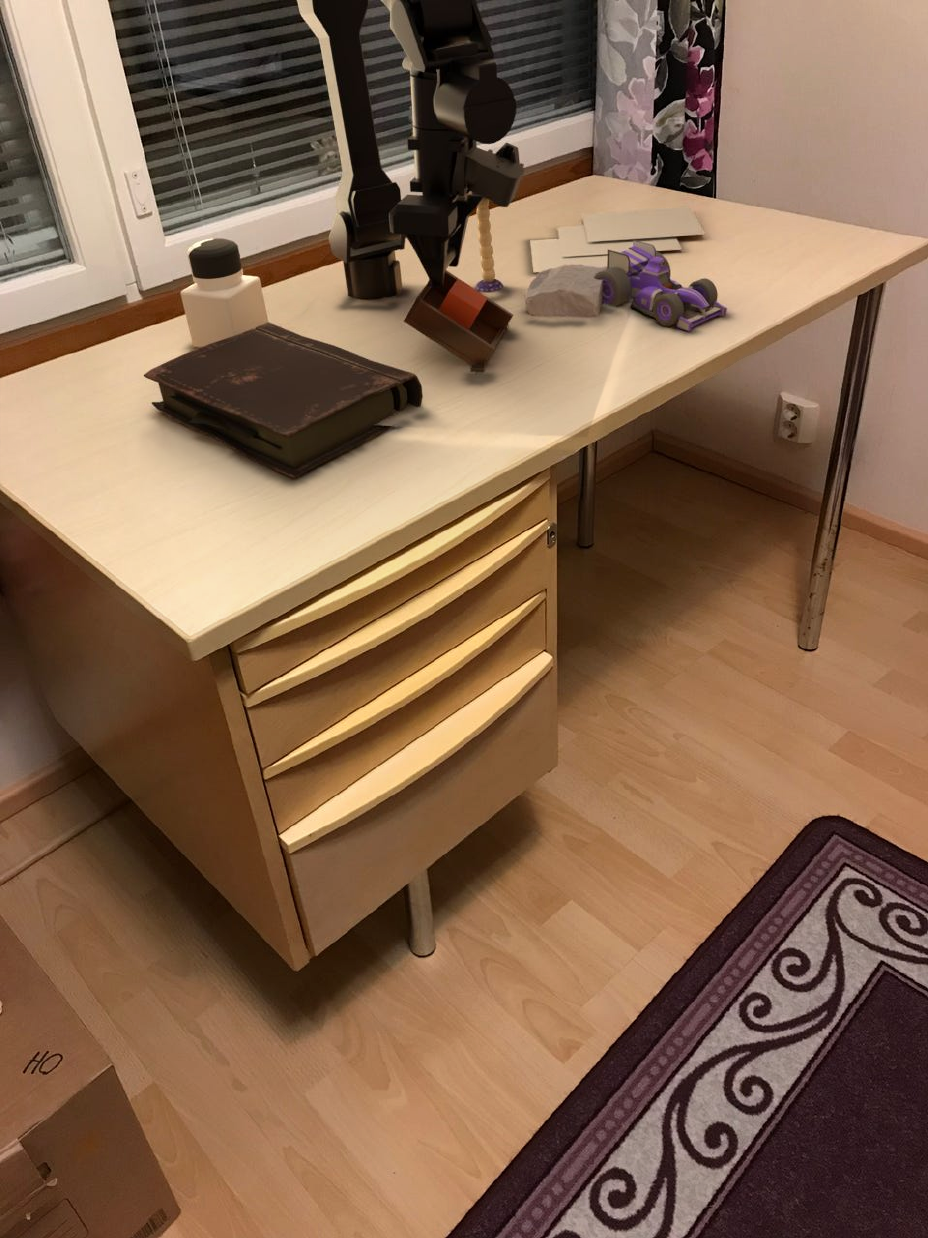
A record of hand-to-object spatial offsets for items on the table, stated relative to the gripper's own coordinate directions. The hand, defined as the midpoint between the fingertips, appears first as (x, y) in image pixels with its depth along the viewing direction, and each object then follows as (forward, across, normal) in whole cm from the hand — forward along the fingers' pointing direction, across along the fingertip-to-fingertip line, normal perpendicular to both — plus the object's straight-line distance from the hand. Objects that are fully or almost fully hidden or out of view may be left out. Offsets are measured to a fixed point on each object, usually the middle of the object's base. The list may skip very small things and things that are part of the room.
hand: (445, 275), depth 112 cm
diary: (+10, -17, +14) cm, 24 cm away
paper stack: (+9, +42, -14) cm, 45 cm away
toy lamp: (+10, +20, 0) cm, 22 cm away
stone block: (+9, +16, -11) cm, 21 cm away
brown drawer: (+6, 0, 0) cm, 7 cm away
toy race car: (+8, +16, -23) cm, 29 cm away
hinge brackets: (+9, 0, -5) cm, 10 cm away
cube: (+5, 0, -1) cm, 5 cm away
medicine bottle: (+11, +2, +29) cm, 31 cm away
